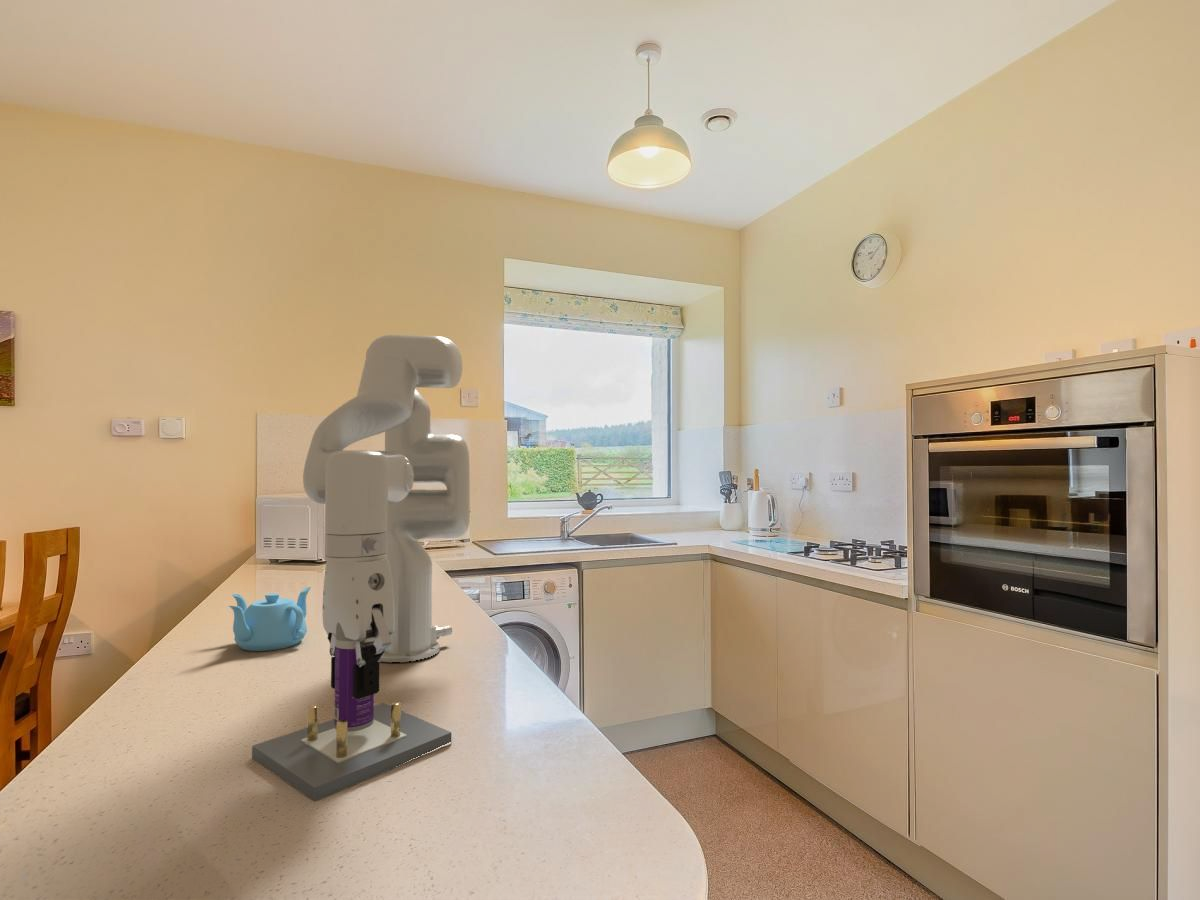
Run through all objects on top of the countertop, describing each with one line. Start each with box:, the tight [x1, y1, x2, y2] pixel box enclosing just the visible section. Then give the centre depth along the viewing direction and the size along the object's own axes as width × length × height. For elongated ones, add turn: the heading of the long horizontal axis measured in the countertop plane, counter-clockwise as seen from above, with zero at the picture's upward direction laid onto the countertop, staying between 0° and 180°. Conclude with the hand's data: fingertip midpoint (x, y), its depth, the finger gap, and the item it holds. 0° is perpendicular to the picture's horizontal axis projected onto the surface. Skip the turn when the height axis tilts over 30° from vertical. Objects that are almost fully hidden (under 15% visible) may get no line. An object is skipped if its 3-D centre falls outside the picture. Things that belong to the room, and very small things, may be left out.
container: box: [333, 622, 375, 732], centre depth 79 cm, size 5×5×15 cm
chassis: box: [251, 702, 452, 803], centre depth 79 cm, size 18×16×2 cm
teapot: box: [228, 586, 312, 652], centre depth 126 cm, size 15×15×10 cm
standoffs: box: [306, 701, 402, 758], centre depth 79 cm, size 8×8×4 cm
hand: (354, 689), depth 79 cm, fingers closed on container, 4 cm apart
